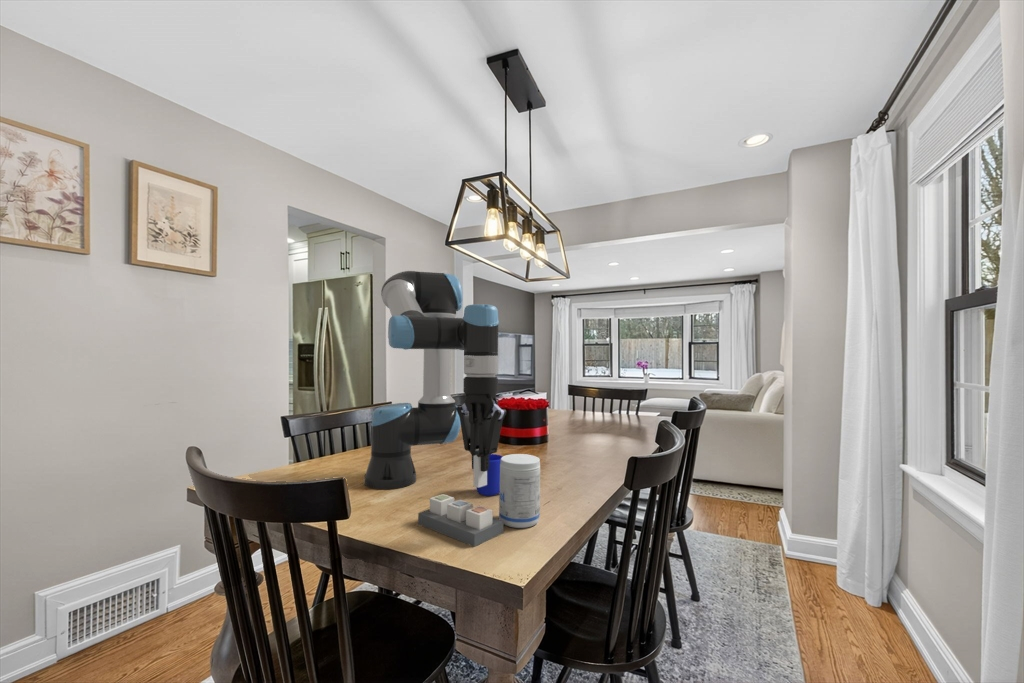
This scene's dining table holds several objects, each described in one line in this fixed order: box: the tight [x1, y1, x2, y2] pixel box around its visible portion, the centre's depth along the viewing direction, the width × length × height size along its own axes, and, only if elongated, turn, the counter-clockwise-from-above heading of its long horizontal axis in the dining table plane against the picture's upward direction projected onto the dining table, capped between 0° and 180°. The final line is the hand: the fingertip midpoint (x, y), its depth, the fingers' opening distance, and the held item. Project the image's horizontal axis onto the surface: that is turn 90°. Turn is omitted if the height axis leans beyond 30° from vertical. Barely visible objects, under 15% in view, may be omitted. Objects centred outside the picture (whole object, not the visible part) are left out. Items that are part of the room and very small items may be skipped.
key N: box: [429, 494, 455, 516], centre depth 100 cm, size 4×4×3 cm
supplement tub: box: [498, 453, 541, 529], centre depth 101 cm, size 10×10×15 cm
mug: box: [475, 453, 504, 497], centre depth 121 cm, size 8×12×10 cm
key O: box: [466, 505, 493, 530], centre depth 93 cm, size 4×4×3 cm
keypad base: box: [417, 508, 504, 547], centre depth 97 cm, size 18×9×2 cm, turn 51°
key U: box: [447, 499, 474, 523], centre depth 97 cm, size 4×4×3 cm
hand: (480, 485), depth 93 cm, fingers closed
